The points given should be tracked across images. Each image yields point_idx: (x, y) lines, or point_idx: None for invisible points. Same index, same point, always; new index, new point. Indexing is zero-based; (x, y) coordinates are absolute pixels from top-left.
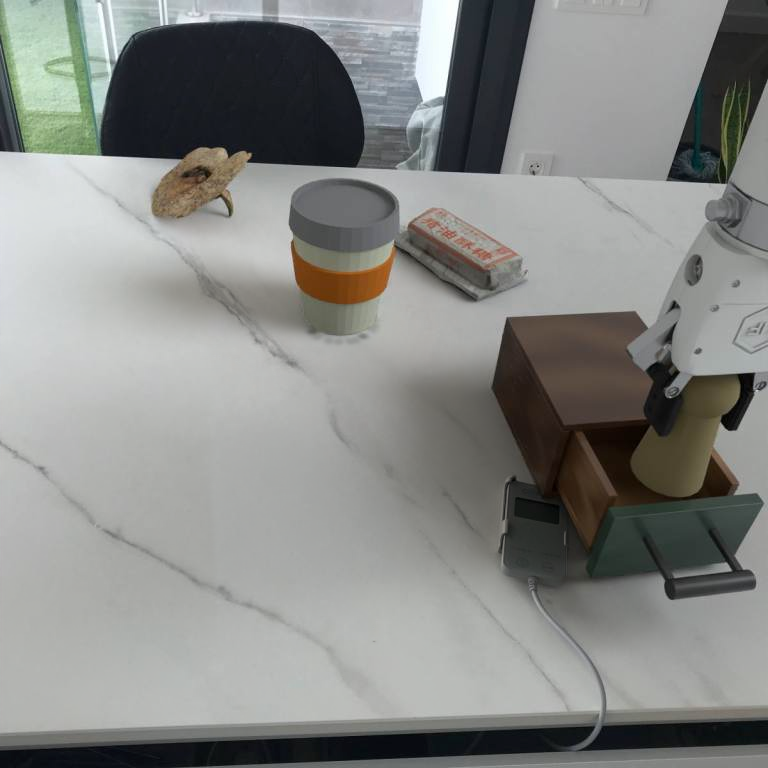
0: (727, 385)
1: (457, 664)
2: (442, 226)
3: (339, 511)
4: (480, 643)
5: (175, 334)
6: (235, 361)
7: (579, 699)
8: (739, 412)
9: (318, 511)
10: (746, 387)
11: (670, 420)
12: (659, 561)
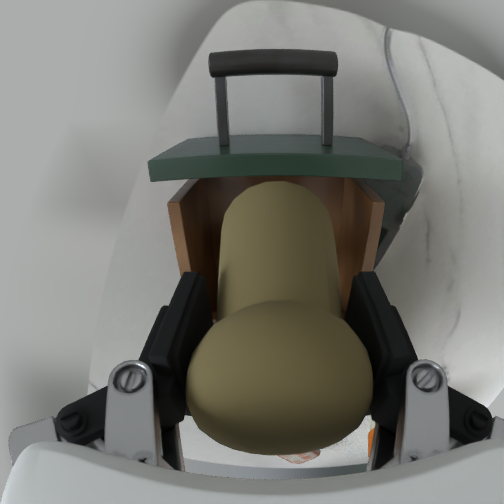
0: (261, 406)
1: (480, 101)
2: (301, 456)
3: (492, 252)
4: (463, 110)
5: (476, 376)
6: (467, 365)
7: (408, 36)
8: (183, 310)
9: (500, 254)
10: (164, 376)
11: (384, 302)
12: (331, 103)
